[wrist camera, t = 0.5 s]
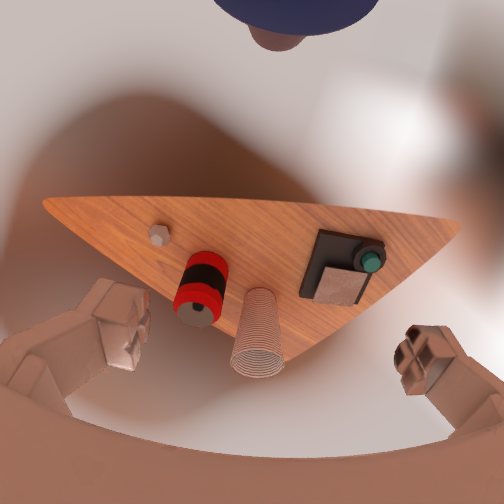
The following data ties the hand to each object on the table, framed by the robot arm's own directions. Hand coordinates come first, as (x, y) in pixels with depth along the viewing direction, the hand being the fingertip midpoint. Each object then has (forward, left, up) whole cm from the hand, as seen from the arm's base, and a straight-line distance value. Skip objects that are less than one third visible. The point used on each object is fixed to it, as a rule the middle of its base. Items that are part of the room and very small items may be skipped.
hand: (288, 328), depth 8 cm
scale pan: (+25, +17, -34) cm, 45 cm away
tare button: (+18, +20, -34) cm, 44 cm away
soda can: (+27, -7, -37) cm, 46 cm away
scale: (+23, +17, -37) cm, 46 cm away
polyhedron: (+21, -15, -37) cm, 45 cm away
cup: (+33, +4, -37) cm, 50 cm away
